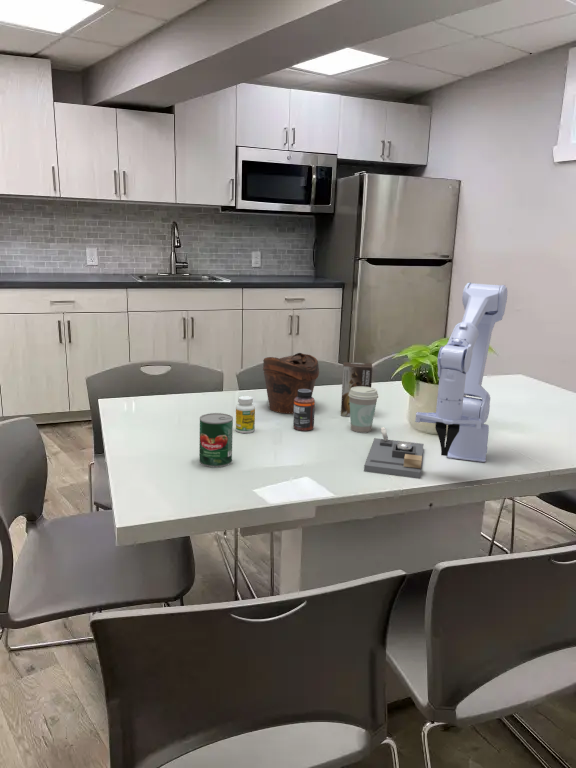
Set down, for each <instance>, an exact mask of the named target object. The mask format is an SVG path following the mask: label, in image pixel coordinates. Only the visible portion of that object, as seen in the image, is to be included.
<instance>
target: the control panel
mask: <svg viewBox="0 0 576 768" xmlns="http://www.w3.org/2000/svg"><path fill="white" fill-rule="evenodd" d="M398 442H401V440H394V439H388V440H384V439H383V438H376V437H374V439H373V441H372V443H371V447H370V448H369V451H368V455H367V456H366V460H365V462H364V465H363V472H367V473H368V472H369V473H374V474H383V475H389V476H390V475H392V476H399V477H407V478H415V479H420V478H421V472H422V468H421V469H420V468H412V467H404V457H405V454H410V455H418V456H422V457H423V455H424V454H423V453H424V443H421V442H419V443H418V442H411V441H408V442H409V443H411V444H412V451H411V452H407V451H398V450H397V443H398ZM422 463H423V462H422ZM422 463H421V465H422Z"/></svg>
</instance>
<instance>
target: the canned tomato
mask: <svg viewBox="0 0 576 768" xmlns="http://www.w3.org/2000/svg"><path fill="white" fill-rule="evenodd" d="M233 419H234V417H233V416H232V415H230V414H228V413H222V412H211V413H206V414H202V415H201V416H200V417H199V440H198V441H199V442H198V443H199V448H198V449H199V453H198V454H199V461H198V463H199V464H200V465H202V466H204V467H208V468H223V467H226V466H229V465H231V464H232V463H233V431H234V430H233V429H234V428H233V427H234V426H233V421H234V420H233Z"/></svg>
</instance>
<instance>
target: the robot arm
mask: <svg viewBox="0 0 576 768" xmlns="http://www.w3.org/2000/svg"><path fill="white" fill-rule="evenodd" d="M507 300H508V287H507V286H506V284H490V283H489V284H488V283H487V284H486V283H474V282H467V283H466V284H465V286H464V287H463V291H462V305H463V308H464V309H463V310H464V313H463V316H462V319H461V322H458V323H457V324H455V326H454V328H453V330H452V332H451V334H450V337H449V339H448V341H447V343H446V344H445V345H444V346H441V347H440V348H439V350H438V354H437V362H436V363H437V377H438V379H439V380H438V387H437V388H438V389H437V398H436V399H437V400H436V408H435V409H436V410H435V412H420V411H417V412H416V413H415V421H414V422H415V423H427V424H428V423H429V424H435V427H434V428H435V431H436V434H437V437H438V440H439V444H440V449H441V450H440V452H441V453H440V454H441V457H442V456H445V457H446V458H448V459H456V460H464V461H472V462H473V461H474V462H479V463H485V462H487V461H486V458H487V453H488V442H489V433H490V431H489V430H490V427H489V424H486V422H487V421H488V418H489V414H490V407H491V395H490V394H489V392H488V391H487V390H486V389H485V388H484V387H483V386H482V385H483V384H482V383H483V379H484V373H485V368H486V363H487V359H488V353H489V348H490V343H491V340H492V339H491V338H492V332H493V331H494V330H493V329H494V327H495V324H496V323H497V322H500V321H503V317H504V315H505V311H506V308H507V307H506V305H507V302H508V301H507Z"/></svg>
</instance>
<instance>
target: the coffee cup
mask: <svg viewBox="0 0 576 768" xmlns="http://www.w3.org/2000/svg"><path fill="white" fill-rule="evenodd" d="M378 398H379V393H378V389H376V388H374V387H372V386H371V387H364V386H357V387H352V388H351V389H350V392H349V399H350V416H349V418H350V430H351V431H353V432H357V433H362V434H364V433H370V432H371V431H372V427H373V422H374V416H375V412H376V407H377V400H378Z"/></svg>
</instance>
